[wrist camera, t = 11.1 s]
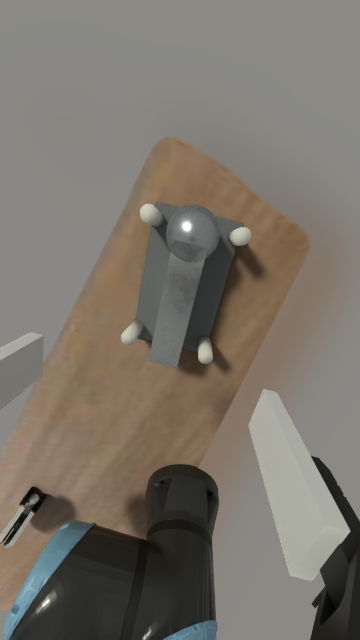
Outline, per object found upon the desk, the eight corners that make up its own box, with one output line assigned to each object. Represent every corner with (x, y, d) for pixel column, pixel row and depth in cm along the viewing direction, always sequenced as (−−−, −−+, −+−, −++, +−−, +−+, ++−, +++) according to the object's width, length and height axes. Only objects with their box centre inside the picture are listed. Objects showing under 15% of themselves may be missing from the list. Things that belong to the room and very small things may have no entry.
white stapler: (43, 497, 56) (51, 492, 47) (8, 550, 49) (9, 557, 39) (29, 489, 56) (34, 483, 46) (-8, 541, 48) (-12, 547, 39)
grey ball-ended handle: (186, 350, 36) (183, 369, 30) (150, 341, 36) (141, 359, 30) (221, 218, 30) (226, 212, 24) (177, 207, 30) (172, 198, 24)
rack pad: (207, 352, 37) (208, 371, 31) (131, 333, 37) (119, 349, 31) (245, 224, 30) (256, 219, 25) (153, 202, 30) (143, 192, 25)
